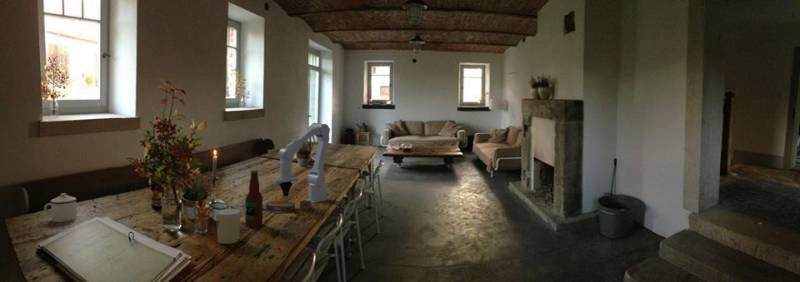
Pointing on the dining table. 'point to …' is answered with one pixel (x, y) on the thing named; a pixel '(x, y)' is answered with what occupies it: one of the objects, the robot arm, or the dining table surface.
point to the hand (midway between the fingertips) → (285, 196)
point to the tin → (280, 206)
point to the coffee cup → (228, 225)
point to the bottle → (253, 203)
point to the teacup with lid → (62, 208)
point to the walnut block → (305, 204)
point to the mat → (274, 210)
